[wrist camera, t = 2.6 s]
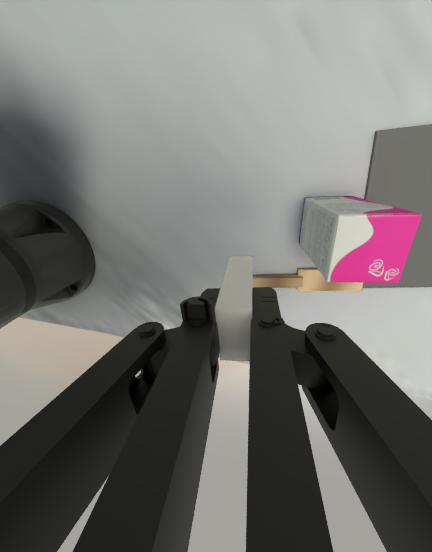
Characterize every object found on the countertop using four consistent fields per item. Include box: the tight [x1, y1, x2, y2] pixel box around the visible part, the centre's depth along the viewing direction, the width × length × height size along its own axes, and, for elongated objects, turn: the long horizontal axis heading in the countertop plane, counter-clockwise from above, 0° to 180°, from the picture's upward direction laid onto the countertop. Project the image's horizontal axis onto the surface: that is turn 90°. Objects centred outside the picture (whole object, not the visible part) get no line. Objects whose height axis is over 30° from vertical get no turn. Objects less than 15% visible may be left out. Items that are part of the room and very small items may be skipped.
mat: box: [362, 124, 432, 288], centre depth 26 cm, size 13×18×1 cm
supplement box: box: [299, 196, 422, 283], centre depth 22 cm, size 6×6×12 cm
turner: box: [253, 268, 363, 291], centre depth 30 cm, size 16×3×1 cm, turn 95°
